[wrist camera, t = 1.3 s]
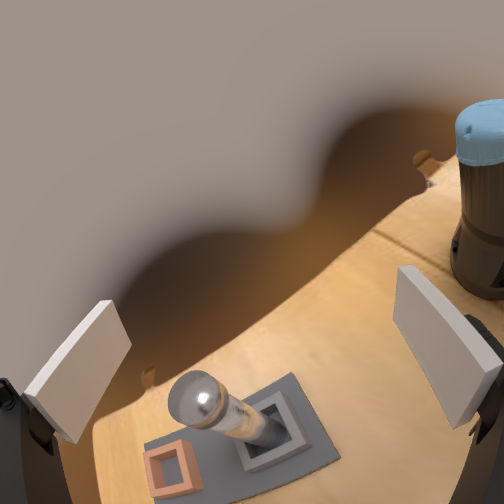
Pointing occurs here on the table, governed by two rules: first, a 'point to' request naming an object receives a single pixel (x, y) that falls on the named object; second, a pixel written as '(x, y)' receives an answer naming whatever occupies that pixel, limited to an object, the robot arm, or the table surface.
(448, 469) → the table surface
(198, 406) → the pin
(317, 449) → the dock board
